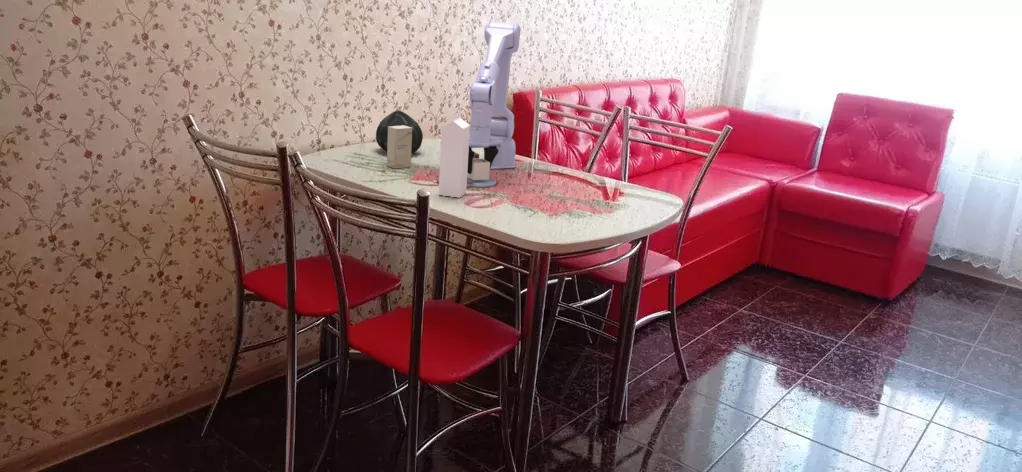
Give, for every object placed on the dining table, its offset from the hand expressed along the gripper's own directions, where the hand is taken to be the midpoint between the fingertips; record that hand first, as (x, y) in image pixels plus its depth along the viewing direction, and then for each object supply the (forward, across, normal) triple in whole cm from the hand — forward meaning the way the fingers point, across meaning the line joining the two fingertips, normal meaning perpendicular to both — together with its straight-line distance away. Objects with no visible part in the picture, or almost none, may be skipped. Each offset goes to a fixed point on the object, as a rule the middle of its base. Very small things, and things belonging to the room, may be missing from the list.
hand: (477, 172), depth 214 cm
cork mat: (+3, -7, -1) cm, 8 cm away
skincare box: (+3, -16, +22) cm, 27 cm away
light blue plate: (+3, 0, 0) cm, 3 cm away
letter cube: (+2, 0, 0) cm, 2 cm away
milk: (+3, -12, -10) cm, 16 cm away
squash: (+3, -10, +39) cm, 40 cm away
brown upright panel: (+3, +2, +11) cm, 12 cm away
